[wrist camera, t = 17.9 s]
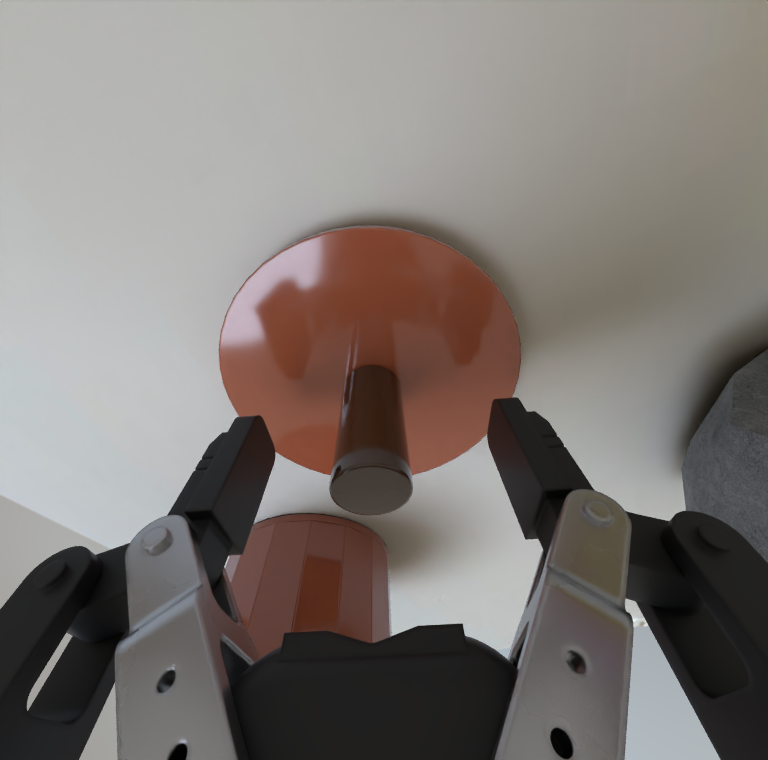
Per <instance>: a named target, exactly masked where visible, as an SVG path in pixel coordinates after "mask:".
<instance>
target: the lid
mask: <svg viewBox="0 0 768 760" xmlns="http://www.w3.org/2000/svg"><path fill="white" fill-rule="evenodd" d="M219 361H220V370H221V375H222V380H223V384H224V387H225V389H226V392H227V394H228V397H229V399H230V401H231V403H232V405H233V407H234V408H235V410H236V412H237V414H238V415H239V416H240V417H242V416H256V415H260V416H262V417H263V419H264V421H265V424H266V426H267V429H268V431H269V434H270V436H271V439H272V441H273V444H274V447H275V451H276V452H277V453H279V454H280V455H281V456H283V457H285V458H287V459H289V460H291V461H293V462H294V463H296V464H299V465H301V466H304V467H306V468H308V469H311V470H314V471H317V472H320V473H323V474H328V475H331V478H330V486H329V490H330V494H331V497H332V499H333V500H334V502H335V503H336V504H337V505H338V506H340V507H341V508H343V509H345V510H347V511H349V512H352V513H356V514H361V515H380V514H386V513H389V512H392V511H395V510H397V509H399V508H400V507H402V506H403V505H405V504H406V503H407V502H408V500H409V499H410V497H411V495H412V491H413V483H412V475H414V474H418V473H421V472H425V471H428V470H431V469H433V468H436V467H438V466H441V465H443V464H445V463H447V462H449V461H451V460H453V459H455V458H457V457H458V456H460V455H461V454H463V453H465V452H466V451H468V450H469V449H470V448H471V447H473V446H474V445H475V444H477V443H478V442H479V441H480V440H481V439H482V438H483V437H484V436H485V435H486V434H487V431H488V425H489V418H490V412H491V406H492V402H493V400H494V399H501V398H512V396H513V393H514V391H515V387H516V384H517V381H518V377H519V370H520V362H521V349H520V339H519V333H518V328H517V324H516V322H515V319H514V316H513V313H512V311H511V308H510V306H509V305H508V303H507V301H506V299H505V298H504V296H503V294H502V292H501V291H500V289H499V288H498V287H497V286H496V285H495V283H494V282H493V281H492V280H491V278H490V277H489V276H488V275H487V274H486V273H485V272H484V271H483V270H482V269H481V268H480V267H479V266H477V265H476V264H475V263H474V262H473V261H472V260H471V259H470V258H468V257H467V256H465V255H464V254H462V253H461V252H459V251H458V250H456V249H455V248H453V247H451V246H450V245H448V244H446V243H444V242H441V241H439V240H437V239H435V238H432V237H430V236H428V235H425V234H421V233H418V232H414V231H411V230H407V229H403V228H396V227H388V226H380V225H367V226H349V227H343V228H336V229H330V230H326V231H323V232H320V233H317V234H314V235H311V236H308V237H305V238H303V239H301V240H299V241H297V242H295V243H293V244H291V245H289V246H287V247H285V248H283V249H282V250H280V251H279V252H278V253H276V254H275V255H273V256H272V257H271V258H269V259H268V260H266V261H265V262H264V263H263V264H262V265H261V266H260V267H259V268H258V269H257V270H256V271H255V272H254V273H253V274H252V275H251V276H250V277H249V278H248V279H247V280H246V281H245V282H244V284H243V285H242V287H241V288H240V289H239V291H238V292H237V294H236V295H235V296H234V298H233V301H232V303H231V305H230V307H229V309H228V311H227V313H226V316H225V319H224V323H223V326H222V329H221V335H220V344H219Z"/></svg>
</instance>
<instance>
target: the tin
mask: <svg viewBox="0 0 768 760" xmlns="http://www.w3.org/2000/svg"><path fill="white" fill-rule="evenodd" d="M225 570H226V572H227V575H228V578H229V581H230V584H231V587H232V590H233V593H234V596H235V599H236V602H237V605H238V608H239V611H240V614H241V617H242V620H243V623H244V626H245V628H246V631H247V633H248V635H249V636H250V638H251V640H252V642H253V644H254V646H255V648H256V650H257V652H258V655H259V658H262V657H263V656H265V655H266V654H268V653H270V652H271V651H273V650H275V649H277V648H279V647H281V646H282V641H283V636H284V633H289V632H309V631H331V632H334V633H337V634H341V635H344V636H348V637H351V638H354V639H358V640H361V641H365V642H368V643H375V642H378V641H381V640H383V639H386V638H389V637H391V636H392V631H391V604H390V577H389V562H388V551H387V547H386V545H385V543H384V542H383V540H382V539H381V538H380V537H379V536H378V535H377V534H376V533H374V532H373V531H371V530H370V529H368V528H366V527H364V526H362V525H360V524H358V523H355V522H352V521H350V520H346V519H342V518H338V517H333V516H327V515H318V514H294V515H285V516H279V517H274V518H271V519H267V520H264V521H262V522H259V523H257V524H255V525H253V526H252V529H251V532H250V535H249V537H248V540H247V543H246V546H245V549H244V552H243V555H230V557H229V560H228V563H227V565H226V568H225Z"/></svg>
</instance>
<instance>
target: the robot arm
mask: <svg viewBox="0 0 768 760" xmlns="http://www.w3.org/2000/svg"><path fill="white" fill-rule="evenodd" d="M487 438H488V444H489V448H490V451H491V453H492V456H493V458H494V461H495V464H496V466H497V469H498V471H499V474H500V476H501V479H502V481H503V484H504V486H505V489H506V491H507V494H508V496H509V499H510V501H511V504H512V506H513V509H514V511H515V514H516V516H517V519H518V522H519V524H520V527H521V529H522V532H523V534H524V537H525V539H539V541H540V543H541V546H542V548H543V551H542V553H541V557H540V560H539V563H538V566H537V570H536V573H535V576H534V579H533V583H532V586H531V589H530V593H529V596H528V599H527V602H526V606H525V609H524V612H523V615H522V618H521V621H520V623H519V626H518V629H517V632H516V634H515V637H514V640H513V643H512V647H511V650H510V653H509V656H508V659H506V658H505V657H504V656H503V655H501V654H500V653H499V652H497V651H496V650H495V649H493V648H491V647H490V646H488V645H486V644H485V643H483V642H480V641H478V640H476V639H474V638H470V637H467V636H465V634H464V629H463V624H445V625H426V626H417V627H414V628H412V629H409V630H406V631H404V632H401V633H399V634H396V635H394V636H391V637H389V638H386V639H383V640H381V641H378V642H375V643H368V642H365V641H361V640H358V639H354V638H351V637H348V636H344V635H341V634H337V633H334V632H331V631H309V632H289V633H284V636H283V641H282V646H281V647H279V648H277V649H275V650H273V651H271V652H270V653H268V654H266V655H265V656H263V657H262V658H259V655H258V652H257V650H256V648H255V646H254V644H253V642H252V640H251V638H250V636H249V635H248V633H247V631H246V628H245V626H244V623H243V620H242V617H241V614H240V611H239V608H238V605H237V602H236V599H235V596H234V593H233V590H232V587H231V584H230V581H229V578H228V575H227V572H226V570H225V568H224V565H225V563H226V560H227V557H228V556H230V555H243V552H244V549H245V546H246V543H247V540H248V537H249V535H250V532H251V529H252V526H253V523H254V520H255V517H256V514H257V511H258V508H259V506H260V503H261V500H262V497H263V494H264V491H265V488H266V485H267V482H268V479H269V476H270V474H271V471H272V468H273V465H274V461H275V447H274V444H273V441H272V439H271V436H270V434H269V431H268V429H267V426H266V424H265V421H264V419H263V417H262V416H260V415H256V416H242V417H237V418H236V419H235V420H234V422H233V423H232V425H231V427H230V429H229V431H228V432H226V433H222V434H220V435H219V436H218V437H217V438H216V439H215V440H214V441H213V442H212V443H211V444H210V445H209V446H208V448H207V450H206V452H205V453H204V455H203V457H202V460H200V462H199V463H198V465H197V467H196V471H194V472H193V473H192V475H191V477H190V478H189V480H188V482H187V483H186V485H185V487H184V488H183V490H182V492H181V493H180V495H179V497H178V498H177V500H176V502H175V503H174V505H173V507H172V509H171V510H170V512H169V513H168V515H167V516H164V517H162V518H159V519H157V520H155V521H153V522H151V523H150V524H148V525H147V526H146V527H144V528H143V529H142V530H141V531H140V532H139V533H138V534H137V535H136V536H135V537H134V538H133V540H132V541H131V543H128V544H126V545H123V546H120V547H117V548H114V549H111V550H109V551H106V552H103V553H100V554H97V555H95V554H93V553H92V552H91V551H90V550H88V549H87V548H85V547H82V546H75V547H70V548H67V549H65V550H62V551H60V552H58V553H56V554H54V555H52V556H51V557H49V558H48V559H46V560H45V561H44V562H42V563H41V564H39V565H38V566H37V567H36V568H35V569H34V570H33V571H32V572H31V573H30V574H29V575H28V576H27V577H26V578H25V579H24V580H23V582H22V583H21V584H20V585H19V587H18V588H17V589H16V591H15V592H14V593H13V595H12V596H11V597H10V598H9V599H8V601H7V602H6V603H5V605H4V606H3V607H2V608H1V609H0V760H79V758H80V756H81V754H82V752H83V750H84V747H85V745H86V743H87V741H88V739H89V737H90V734H91V732H92V730H93V728H94V726H95V723H96V721H97V719H98V717H99V715H100V713H101V711H102V709H103V706H104V704H105V702H106V700H107V698H108V696H109V694H110V691H111V689H112V687H113V685H114V683H115V689H116V719H117V720H116V721H117V752H118V760H624V757H625V744H626V730H627V716H628V702H629V688H630V674H631V659H632V647H633V620H632V616H631V615H630V613H628V612H626V610H625V598H627V599H630V600H633V601H636V603H637V605H638V607H639V608H640V610H641V612H642V614H643V616H644V618H645V620H646V621H647V623H648V625H649V627H650V629H651V631H652V633H653V634H654V636H655V638H656V640H657V642H658V644H659V645H660V647H661V649H662V651H663V653H664V655H665V657H666V659H667V661H668V662H669V664H670V666H671V668H672V670H673V671H674V673H675V675H676V677H677V679H678V681H679V683H680V685H681V687H682V688H683V690H684V692H685V694H686V696H687V698H688V700H689V701H690V703H691V705H692V707H693V709H694V711H695V713H696V714H697V716H698V718H699V720H700V722H701V724H702V726H703V728H704V729H705V731H706V733H707V735H708V737H709V739H710V740H711V742H712V744H713V746H714V748H715V750H716V752H717V753H718V755H719V757H720V759H721V760H768V563H767V562H766V561H765V560H764V558H763V557H762V556H761V555H760V554H759V553H758V552H757V551H756V550H755V549H754V548H753V546H752V545H751V544H750V543H749V542H748V541H747V540H746V539H745V538H744V537H743V536H742V535H741V534H740V533H739V532H737V531H736V530H735V529H734V528H732V527H731V526H729V525H728V524H726V523H724V522H723V521H721V520H719V519H717V518H715V517H713V516H710V515H707V514H704V513H701V512H696V511H682V512H679V513H677V514H675V516H674V517H673V518H672V519H671V520H670V521H665V520H661V519H656V518H652V517H647V516H642V515H638V514H634V513H630V512H627V511H625V510H624V509H623V508H622V507H621V506H620V505H619V504H618V503H617V502H616V501H614V500H613V499H612V498H610V497H608V496H607V495H604V494H602V493H600V492H597V491H595V490H594V489H593V488H592V486H591V485H590V483H589V482H588V480H587V479H586V477H585V476H584V474H583V473H582V471H581V470H580V468H579V467H578V465H577V464H576V462H575V461H574V459H573V458H572V456H571V455H570V453H569V452H568V450H567V449H566V447H564V444H563V443H562V441H561V440H560V438H559V437H557V434H556V432H555V431H554V429H553V428H552V426H551V425H550V423H549V422H548V421H547V420H546V419H544V418H543V417H542V416H540V415H539V414H538V413H536V412H535V411H533V412H527V411H526V410H525V408H524V406H523V405H522V403H521V401H520V400H519V399H518V398H516V397H515V398H501V399H494V400H493V402H492V406H491V412H490V418H489V425H488V431H487ZM66 633H68V634H70V635H72V636H73V637H72V638H71V640H70V642H69V643H68V645H67V647H66V648H65V650H64V652H63V653H62V655H61V657H60V659H59V660H58V662H57V663H56V665H55V667H54V668H53V670H52V672H51V673H50V675H49V677H48V678H47V680H46V682H45V683H44V685H43V687H42V689H41V690H40V692H39V693H38V695H37V697H36V698H35V700H34V702H33V703H32V705H31V707H30V708H29V710H28V711H27V700H28V696H29V693H30V691H31V689H32V687H33V686H34V684H35V682H36V681H37V679H38V677H39V676H40V674H41V673H42V671H43V669H44V668H45V666H46V665H47V662H48V661H49V660H50V658H51V656H52V655H53V653H54V652H55V650H56V648H57V647H58V645H59V643H60V642H61V640H62V639H63V637H64V635H65V634H66Z"/></svg>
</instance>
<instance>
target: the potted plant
mask: <svg viewBox="0 0 768 760" xmlns="http://www.w3.org/2000/svg"><path fill="white" fill-rule="evenodd" d="M681 470H682V479H683V487H684V496H685V505H686V511H696V512H701V513H704V514H707V515H710V516H713V517H715V518H717V519H719V520H721V521H723V522H724V523H726V524H728V525H729V526H731V527H732V528H734V529H735V530H736V531H737V532H739V533H740V534H741V535H742V536H743V537H744V538H745V539H746V540H747V541H748V542H749V543H750V544H751V545H752V546H753V548H754V549H755V550H756V551H757V552H758V553H759V554H760V555H761V556H762V557H763V558H764V560H765V561H766V562H767V563H768V349H767V350H765V351H764V352H763V353H761V354H760V355H759V356H757V357H756V358H754V359H753V360H752V361H750V362H749V363H748V364H746V365H745V366H744V367H742V368H741V369H739V370H738V371H737V372H735V373H734V374H733V376H732V377H731V379H730V380H729V382H728V383H727V385H726V387H725V388H724V390H723V391H722V393H721V394H720V396H719V397H718V399H717V400H716V402H715V403H714V405H713V406H712V408H711V410H710V411H709V413H708V414H707V416H706V417H705V419H704V420H703V422H702V423H701V425H700V426H699V428H698V430H697V431H696V433H695V434H694V436H693V437H692V439H691V440H690V443H689V447H688V450H687V453H686V456H685V459H684V463H683V466H682V469H681Z"/></svg>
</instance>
